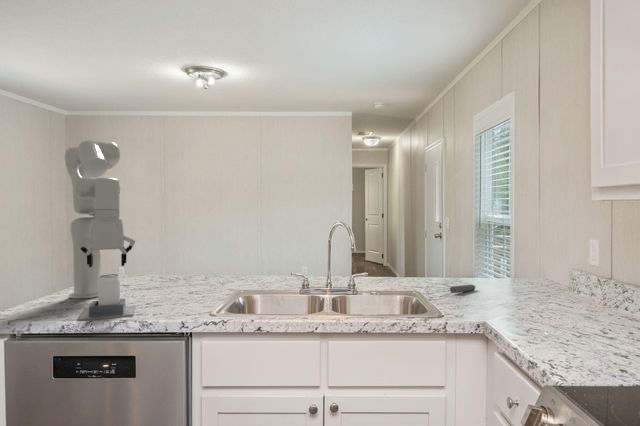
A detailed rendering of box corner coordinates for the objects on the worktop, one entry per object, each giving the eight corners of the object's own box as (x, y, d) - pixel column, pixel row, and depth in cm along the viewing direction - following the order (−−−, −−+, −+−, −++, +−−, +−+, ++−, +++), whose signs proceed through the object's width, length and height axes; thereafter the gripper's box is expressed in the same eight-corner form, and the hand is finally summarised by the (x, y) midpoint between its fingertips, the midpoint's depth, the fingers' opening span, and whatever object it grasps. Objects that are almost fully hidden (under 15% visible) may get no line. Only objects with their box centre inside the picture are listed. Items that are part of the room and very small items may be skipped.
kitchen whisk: (482, 291, 177) (481, 276, 177) (434, 303, 155) (434, 286, 155) (468, 289, 182) (468, 274, 182) (420, 300, 160) (420, 284, 160)
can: (124, 309, 145) (123, 274, 145) (113, 313, 138) (112, 277, 138) (106, 309, 145) (105, 273, 145) (94, 313, 139) (93, 276, 139)
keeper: (84, 311, 145) (84, 300, 145) (135, 306, 151) (135, 296, 151) (76, 320, 132) (76, 309, 132) (133, 315, 138) (132, 304, 138)
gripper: (75, 215, 135) (75, 269, 135) (134, 215, 141) (134, 266, 142) (79, 214, 142) (79, 265, 142) (135, 214, 148) (135, 263, 149)
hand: (107, 266), depth 142 cm, fingers open, 9 cm apart
